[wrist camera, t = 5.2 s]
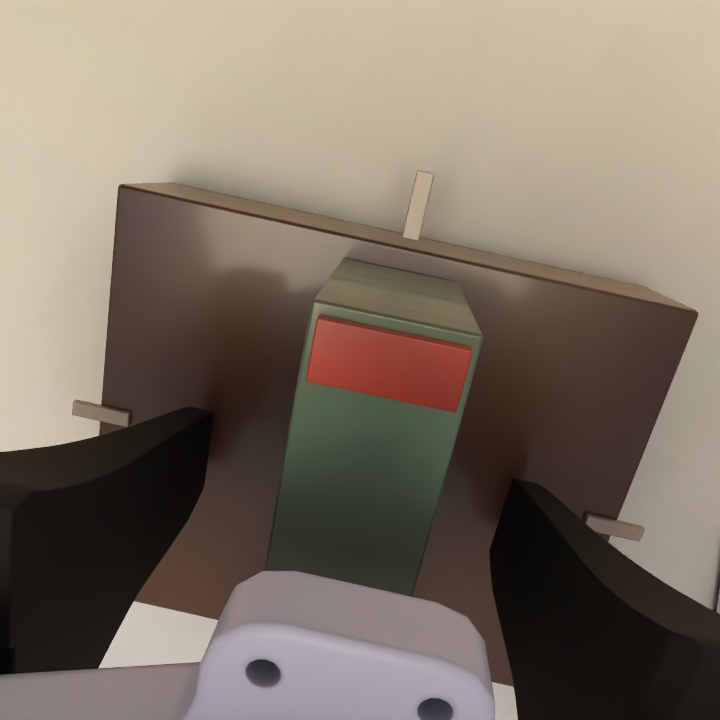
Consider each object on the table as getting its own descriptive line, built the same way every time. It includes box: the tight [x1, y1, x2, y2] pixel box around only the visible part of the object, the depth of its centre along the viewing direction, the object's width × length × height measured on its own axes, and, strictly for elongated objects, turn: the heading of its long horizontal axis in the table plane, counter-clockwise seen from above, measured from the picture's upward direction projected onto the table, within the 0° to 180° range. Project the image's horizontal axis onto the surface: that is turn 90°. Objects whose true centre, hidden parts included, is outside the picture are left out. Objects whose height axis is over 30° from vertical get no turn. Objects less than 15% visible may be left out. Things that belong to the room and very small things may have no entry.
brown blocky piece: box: [72, 170, 698, 687], centre depth 16 cm, size 14×14×3 cm
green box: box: [264, 259, 483, 597], centre depth 12 cm, size 10×3×5 cm, turn 169°
